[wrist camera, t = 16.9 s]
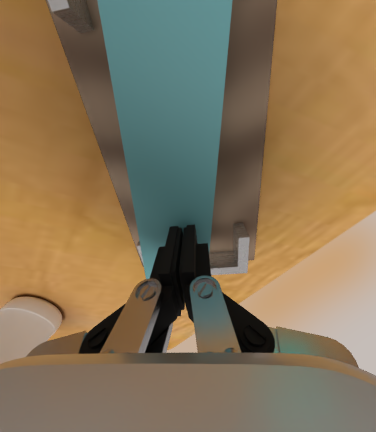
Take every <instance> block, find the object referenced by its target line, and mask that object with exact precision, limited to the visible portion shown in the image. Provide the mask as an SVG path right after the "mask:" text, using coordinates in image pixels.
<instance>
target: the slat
mask: <svg viewBox="0 0 376 432" xmlns="http://www.w3.org/2000/svg"><path fill="white" fill-rule="evenodd" d="M97 1H98V7H99V13H100V18H101V24H102V30H103V35H104V41H105V47H106V52H107V58H108V64H109V70H110V75H111V81H112V87H113V92H114V98H115V104H116V110H117V115H118V121H119V127H120V132H121V138H122V144H123V150H124V155H125V161H126V167H127V172H128V178H129V184H130V190H131V195H132V201H133V207H134V212H135V218H136V224H137V229H138V235H139V241H140V247H141V252H142V258H143V264H144V269H145V275H146V279H149V278H150V275H151V272H152V268H153V265H154V261H155V258H156V255H157V251H158V248H159V247H162V246H165V244H166V240H167V236H168V232H169V228H170V227H171V226H179V228H182V232H183V230H184V227H187V225H194V224H195V227H196V235H197V243H198V244H203V243H208V249H209V251H210V240H211V229H212V218H213V207H214V196H215V186H216V175H217V164H218V153H219V142H220V131H221V120H222V109H223V99H224V88H225V77H226V66H227V55H228V44H229V33H230V23H231V12H232V1H233V0H97Z"/></svg>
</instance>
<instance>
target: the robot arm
mask: <svg viewBox="0 0 376 432" xmlns="http://www.w3.org/2000/svg"><path fill="white" fill-rule="evenodd" d="M185 304H186V308H187V311H188V316H189V318H190V319H191V320H192V321H193V323H194V327H195V335H196V342H197V350H198V353H166V351H167V347H168V343H169V339H170V335H171V331H172V326H173V322H174V321H175V320H176V319H177V316H181V310H184V307H185ZM0 432H376V376H375V375H373V374H371V373H369V372H367V371H364V370H362V369H360V368H359V367H358V365H357V362H356V360H355V359H354V357H353V356H352V354H351V353H350V351H349V350H347V348H346V347H345V346H344V345H342V344H340V343H339V342H338V341H336V340H334V339H331V338H328V337H324V336H319V335H314V334H310V333H305V332H301V331H295V330H291V329H286V328H282V327H276V328H271V327H267V326H266V325H265V324H264V323H263V322H262V321H260V320H259V319H257V318H256V317H255V316H254V315H252V314H251V313H250V312H248V311H247V310H246V309H244V308H243V307H242V306H240V305H239V304H237V303H236V302H235V301H233V300H232V299H231V298H229V297H228V296H227V295H225V294H224V293H223V292H222V291H221V288H220V285H219V283H218V281H217V280H216V279H215V278H213V277H211V269H210V259H209V249H208V243H203V244H198V243H197V235H196V227H195V224H194V225H187V227H184V230H183V232H182V228H179V226H171V227H170V228H169V232H168V236H167V240H166V244H165V246H162V247H159V248H158V251H157V255H156V258H155V261H154V265H153V268H152V272H151V275H150V278H149V279H145V280H143V281H141V282H140V283H138V284H137V285H136V287H135V288H134V290H133V291H132V293H131V295H130V297H129V299H128V301H127V303H126V304H124V305H123V306H122V307H120V308H119V309H118V310H116V311H115V312H114V313H112V314H111V315H110V316H108V317H107V318H106V319H104V320H103V321H102V322H100V323H99V324H98V325H96V326H95V327H94V328H93V329H92V330H90V331H89V332H88V333H87V332H86V331H83V332H79V333H76V334H72V335H68V336H65V337H61V338H57V339H54V340H50V341H46V342H44V343H41V344H39V345H38V346H37V347H35V348H34V349H33V350H32V351H31V352H30V353H29V354H28V355H27V356H26V357H23V358H18V359H14V360H11V361H7V362H4V363H1V364H0Z"/></svg>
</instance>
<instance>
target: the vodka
mask: <svg viewBox="0 0 376 432" xmlns="http://www.w3.org/2000/svg"><path fill="white" fill-rule="evenodd" d="M61 322H62V315H61V313H60V311H59V309H58V308H57V307H56V306H54V305H53V304H51V303H50V302H48V301H46V300H43V299H40V298H36V297H28V296H27V297H17V298H14V299H12V300H10V301H9V302H7V303H6V304H5V305H4V306H3V307H2V308H1V309H0V364H1V363H4V362H7V361H11V360H14V359H18V358H23V357H26V356H27V355H28V354H29V353H30V352H31V351H32V350H33V349H34V348H35V347H37V346H38V345H39V344H41V343H44V342H46V341H47V340H48V339H49V338H50V337H51V336H52V335H53V334H54V333H55V332H56V331H57V329H58V328H59V326H60V325H61Z"/></svg>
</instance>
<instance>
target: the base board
mask: <svg viewBox="0 0 376 432" xmlns="http://www.w3.org/2000/svg"><path fill="white" fill-rule="evenodd" d="M46 2H47V5H48V8H49V11H50V13H51V16H52V19H53V22H54V24H55V27H56V30H57V32H58V35H59V38H60V41H61V43H62V46H63V49H64V52H65V54H66V57H67V60H68V63H69V65H70V68H71V71H72V74H73V76H74V79H75V82H76V84H77V87H78V90H79V93H80V95H81V98H82V101H83V104H84V106H85V109H86V112H87V115H88V117H89V120H90V123H91V126H92V128H93V131H94V134H95V136H96V139H97V142H98V145H99V147H100V150H101V153H102V156H103V158H104V161H105V164H106V167H107V169H108V172H109V175H110V178H111V180H112V183H113V186H114V188H115V191H116V194H117V197H118V199H119V202H120V205H121V208H122V210H123V213H124V216H125V219H126V221H127V224H128V227H129V230H130V232H131V235H132V238H133V241H134V243H135V246H136V249H137V244H138V242H139V235H138V229H137V224H136V218H135V212H134V207H133V201H132V195H131V190H130V184H129V178H128V172H127V167H126V161H125V155H124V150H123V144H122V138H121V132H120V127H119V121H118V115H117V110H116V104H115V98H114V92H113V87H112V81H111V75H110V70H109V64H108V58H107V52H106V47H105V41H104V35H103V30H102V24H101V18H100V13H99V7H98V1H97V0H86V3H87V6H88V10H89V13H90V17H91V20H92V24H93V27H94V31H89V32H84V33H79V32H78V31H76V30H75V29H74V28H73V27H71V26H70V25H69V24H67V23H66V22H65V21H63V20H62V19H61V18H59V17H58V16H57V15H55V14H54V13H53V12H52V11H51V8H50V5H49V2H48V0H46ZM276 7H277V0H233V1H232V12H231V23H230V33H229V44H228V55H227V66H226V77H225V88H224V99H223V109H222V120H221V131H220V142H219V153H218V164H217V175H216V186H215V196H214V207H213V218H212V229H211V240H210V251H209V252H223V251H233V224H237V223H243V224H244V226H245V228H246V231H247V233H248V235H249V237H250V238H249V254H248V260H254V255H255V244H256V233H257V222H258V210H259V199H260V188H261V176H262V165H263V154H264V143H265V131H266V120H267V109H268V97H269V86H270V75H271V64H272V52H273V41H274V30H275V19H276ZM137 251H138V249H137ZM138 254H139V251H138ZM139 257H140V254H139ZM140 260H141V257H140ZM141 262H142V260H141ZM142 265H143V263H142ZM143 267H144V265H143Z"/></svg>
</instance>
